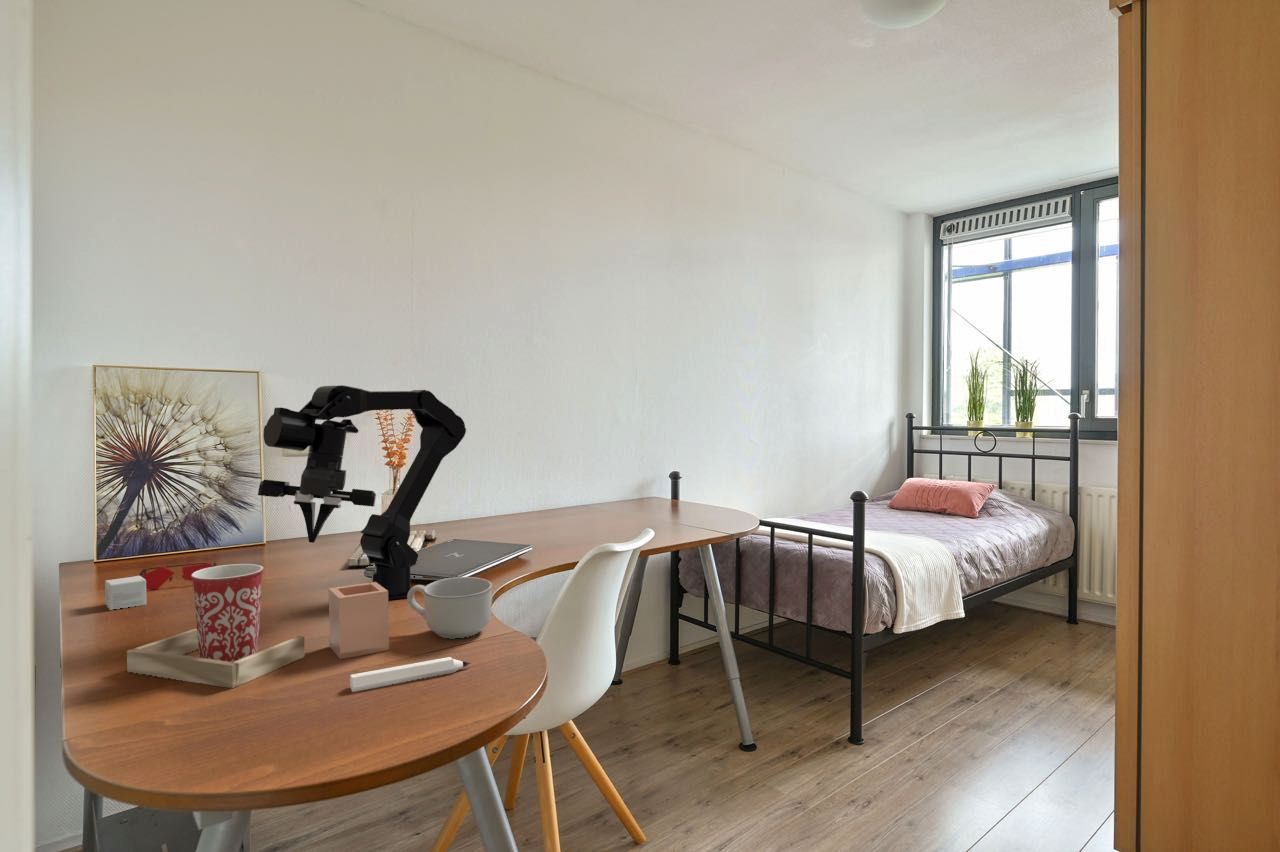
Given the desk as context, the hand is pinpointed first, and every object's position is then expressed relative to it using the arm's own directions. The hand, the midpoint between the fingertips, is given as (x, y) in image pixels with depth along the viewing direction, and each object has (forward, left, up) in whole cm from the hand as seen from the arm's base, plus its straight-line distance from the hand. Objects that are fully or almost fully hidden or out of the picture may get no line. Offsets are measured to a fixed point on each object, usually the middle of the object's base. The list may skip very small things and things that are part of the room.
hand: (311, 542), depth 128 cm
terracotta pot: (-6, +22, -13) cm, 26 cm away
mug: (+11, +19, -13) cm, 26 cm away
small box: (+32, -23, -13) cm, 41 cm away
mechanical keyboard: (-19, -53, -14) cm, 58 cm away
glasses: (+26, -42, -14) cm, 51 cm away
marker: (-12, +38, -14) cm, 42 cm away
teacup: (-20, +20, -13) cm, 31 cm away
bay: (+12, +21, -13) cm, 27 cm away
